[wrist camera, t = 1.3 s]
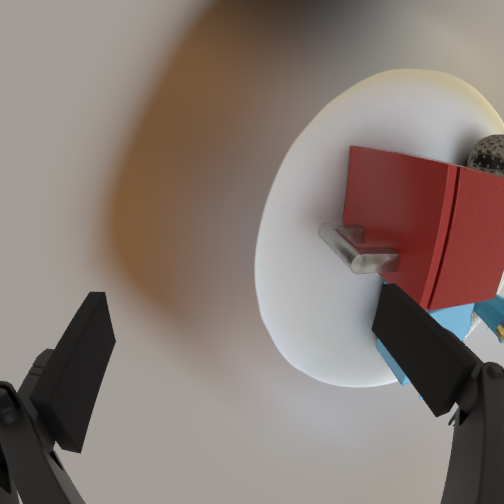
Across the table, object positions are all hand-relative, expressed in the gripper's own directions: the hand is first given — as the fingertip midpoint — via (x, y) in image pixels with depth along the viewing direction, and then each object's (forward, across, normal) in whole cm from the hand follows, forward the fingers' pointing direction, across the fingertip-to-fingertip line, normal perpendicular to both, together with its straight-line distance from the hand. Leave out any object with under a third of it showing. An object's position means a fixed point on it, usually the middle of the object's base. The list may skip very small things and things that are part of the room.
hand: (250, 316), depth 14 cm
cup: (+23, +51, -16) cm, 58 cm away
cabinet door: (+23, +13, +2) cm, 26 cm away
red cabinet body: (+23, +21, +2) cm, 31 cm away
